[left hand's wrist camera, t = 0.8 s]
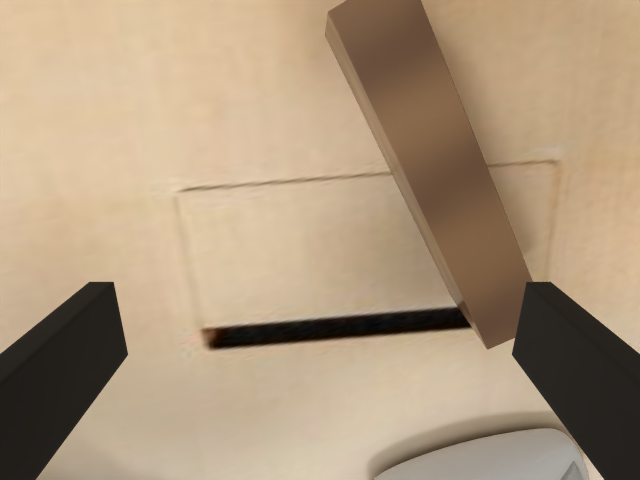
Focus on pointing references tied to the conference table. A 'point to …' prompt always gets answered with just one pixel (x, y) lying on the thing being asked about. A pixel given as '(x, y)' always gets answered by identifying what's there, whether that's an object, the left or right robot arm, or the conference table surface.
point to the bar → (433, 157)
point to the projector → (498, 459)
